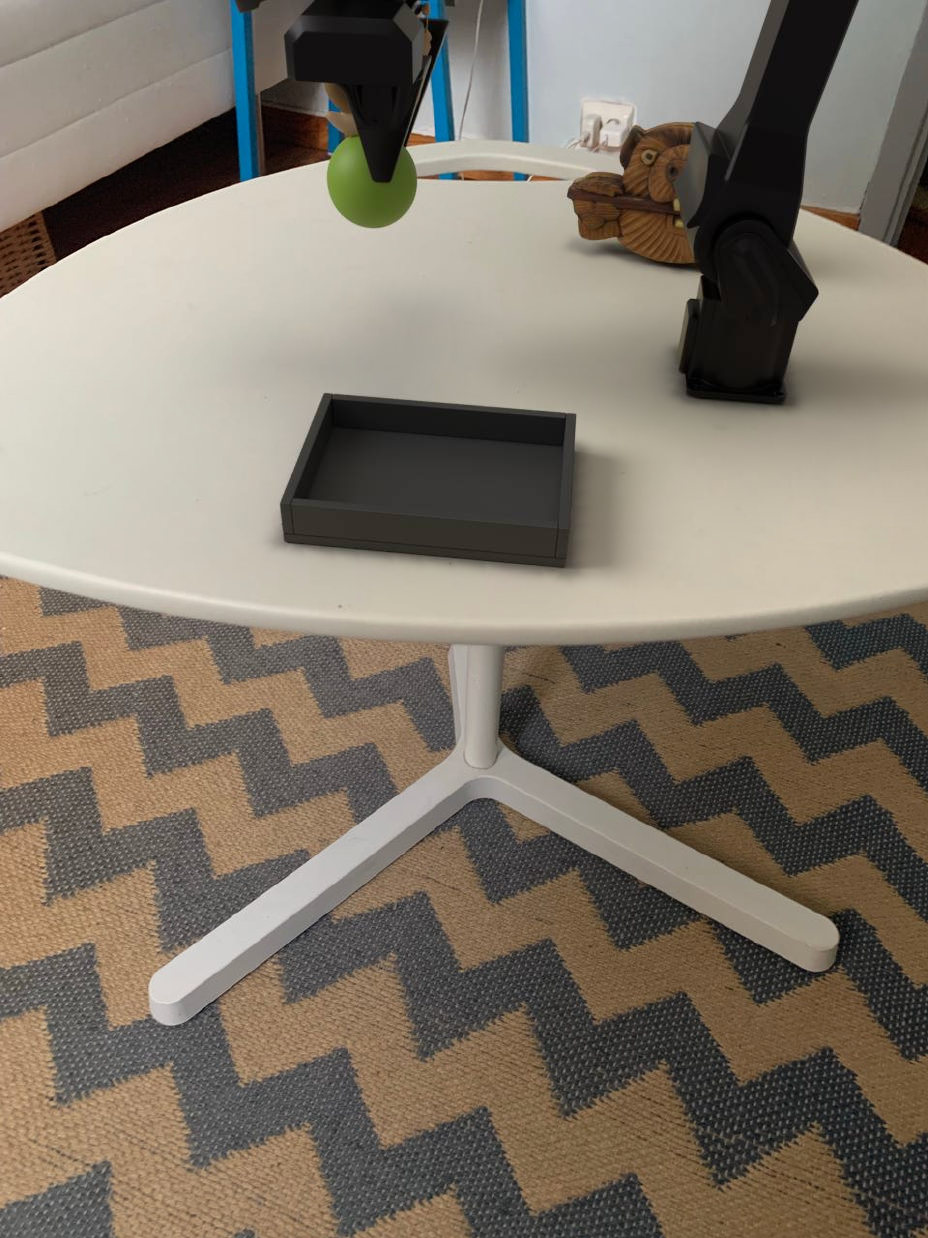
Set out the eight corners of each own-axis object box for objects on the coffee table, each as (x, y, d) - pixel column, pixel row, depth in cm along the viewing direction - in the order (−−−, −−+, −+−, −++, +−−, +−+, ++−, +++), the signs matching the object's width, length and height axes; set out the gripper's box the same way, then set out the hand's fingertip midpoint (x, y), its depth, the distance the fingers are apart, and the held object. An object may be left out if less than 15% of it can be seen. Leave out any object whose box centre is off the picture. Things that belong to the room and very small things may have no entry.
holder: (572, 449, 64) (576, 412, 62) (565, 567, 55) (570, 529, 54) (326, 429, 65) (323, 392, 63) (283, 542, 56) (279, 503, 55)
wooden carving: (558, 258, 83) (570, 126, 77) (566, 235, 87) (578, 107, 80) (767, 283, 81) (799, 150, 74) (768, 259, 84) (798, 129, 78)
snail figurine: (433, 241, 63) (430, 11, 55) (326, 240, 63) (308, 11, 55) (434, 211, 67) (432, -5, 59) (334, 211, 67) (318, -6, 59)
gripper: (267, -185, 59) (293, 111, 69) (152, -134, 45) (206, 223, 56) (464, -177, 58) (460, 121, 68) (407, -123, 44) (413, 238, 55)
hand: (387, 170), depth 62 cm, fingers closed on snail figurine, 3 cm apart
